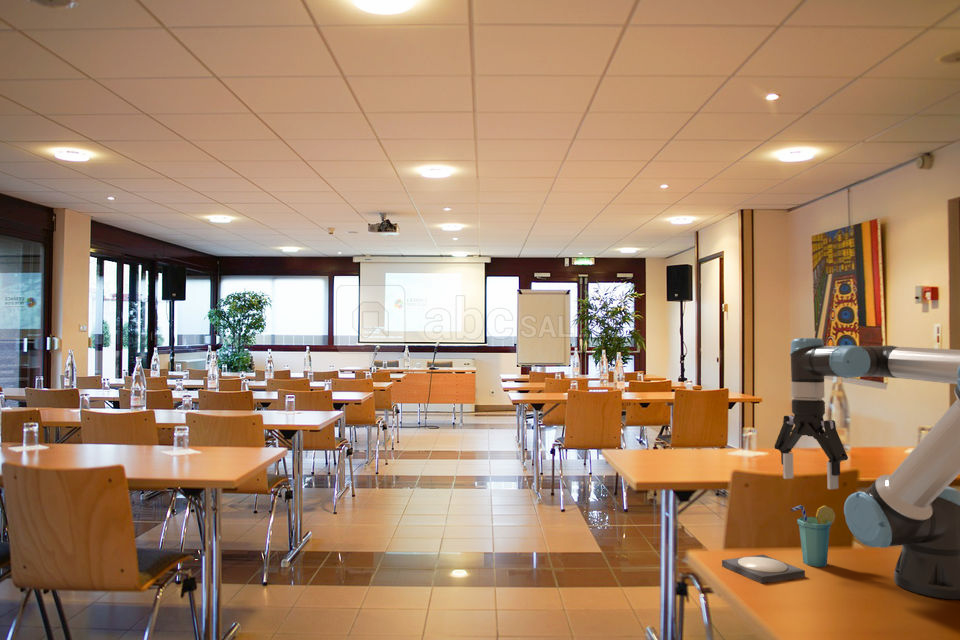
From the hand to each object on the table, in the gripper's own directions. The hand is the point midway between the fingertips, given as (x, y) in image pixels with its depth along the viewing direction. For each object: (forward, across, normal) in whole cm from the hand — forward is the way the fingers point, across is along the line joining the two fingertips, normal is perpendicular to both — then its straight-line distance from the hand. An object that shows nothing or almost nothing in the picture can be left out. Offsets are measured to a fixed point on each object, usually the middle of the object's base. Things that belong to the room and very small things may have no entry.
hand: (809, 483), depth 164 cm
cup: (+20, 0, 0) cm, 20 cm away
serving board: (+20, 0, +16) cm, 26 cm away
